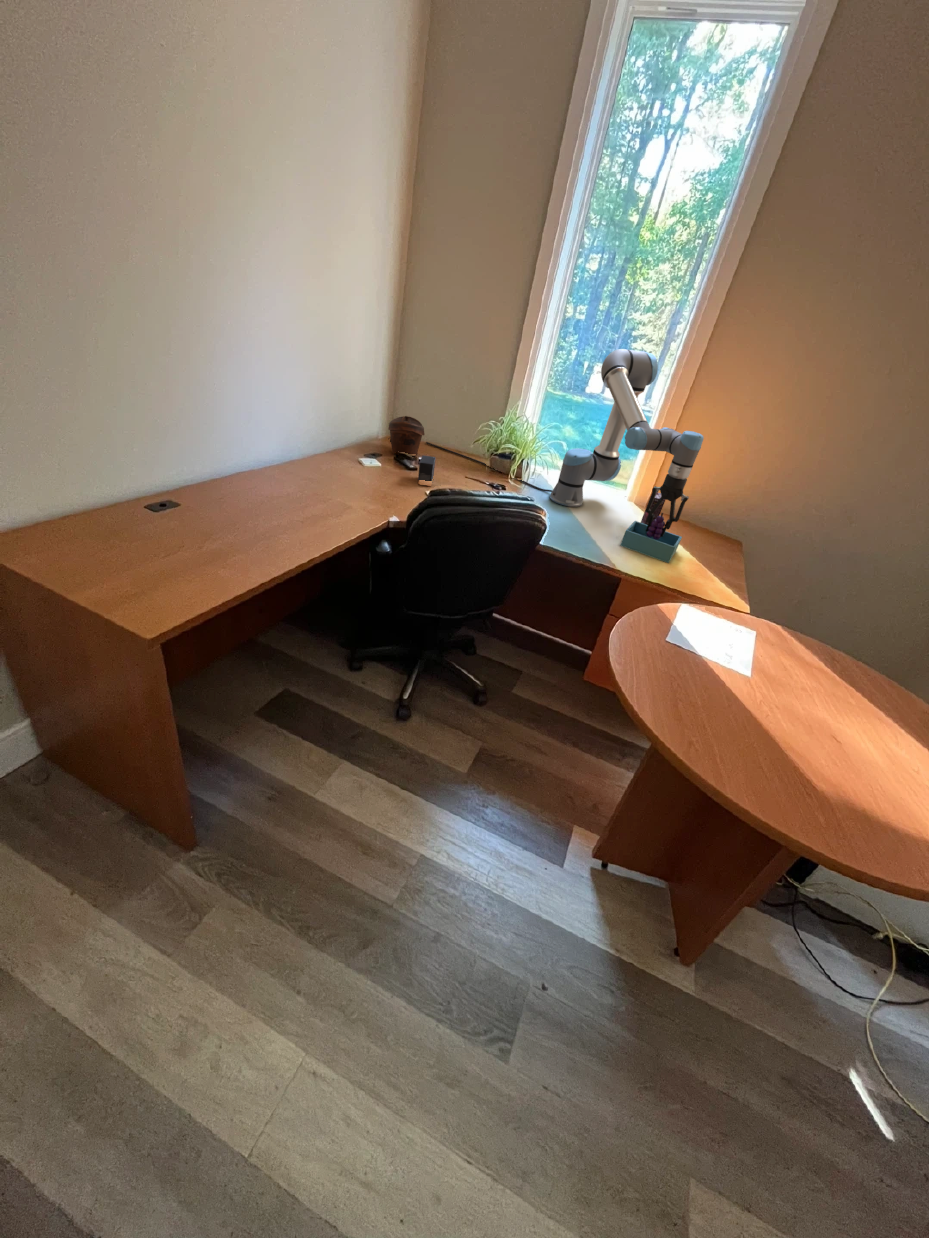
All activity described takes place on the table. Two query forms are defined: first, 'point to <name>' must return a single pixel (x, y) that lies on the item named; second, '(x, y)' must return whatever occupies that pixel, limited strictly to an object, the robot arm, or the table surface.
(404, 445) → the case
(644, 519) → the supplement box
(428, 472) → the small box
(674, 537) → the bin
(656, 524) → the grapes
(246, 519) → the table surface
